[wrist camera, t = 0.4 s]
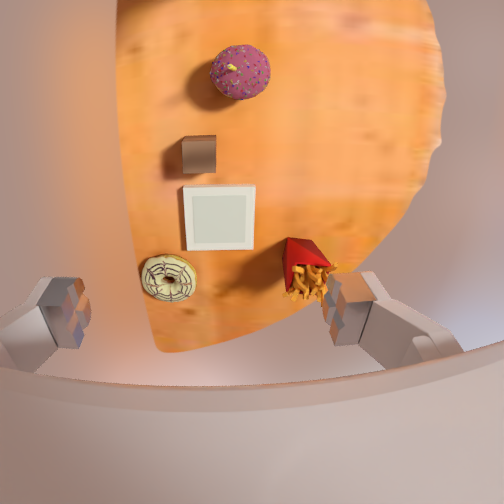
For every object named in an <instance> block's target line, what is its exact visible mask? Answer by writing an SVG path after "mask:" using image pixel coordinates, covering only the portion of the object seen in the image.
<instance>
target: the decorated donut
mask: <svg viewBox="0 0 504 504" xmlns="http://www.w3.org/2000/svg"><path fill="white" fill-rule="evenodd" d="M165 276H172V277H173V278H174V279H173V280H167V279H165V278H164V277H165ZM196 283H197V276H196V271H195V269H194V268H193V266H192V265H191V264H190V263H189V262H188V261H187V260H185V259H184V258H182V257H180V256H177V255H173V254H164V255H160V256H157V257H155V258H154V257H152V258H149V259H148V260H147V262H146V263H145V266H144V268H143V271H142V284H143V287H144V289H145V290H146V291H147V292H148V293H150V294H151V295H152V296H154V297H156V298H157V299H159V300H162V301H166V302H179V301H183V300H185V299H187V298H188V297H190V296H191V295H192V294H193V293H194V291H195V288H196Z"/></svg>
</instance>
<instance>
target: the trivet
mask: <svg viewBox="0 0 504 504" xmlns="http://www.w3.org/2000/svg"><path fill="white" fill-rule="evenodd" d="M255 188H256V187H255V184H202V185H184V187H183V195H184V212H185V228H186V241H187V251H190V250H245V249H253V239H254V214H255Z"/></svg>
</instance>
